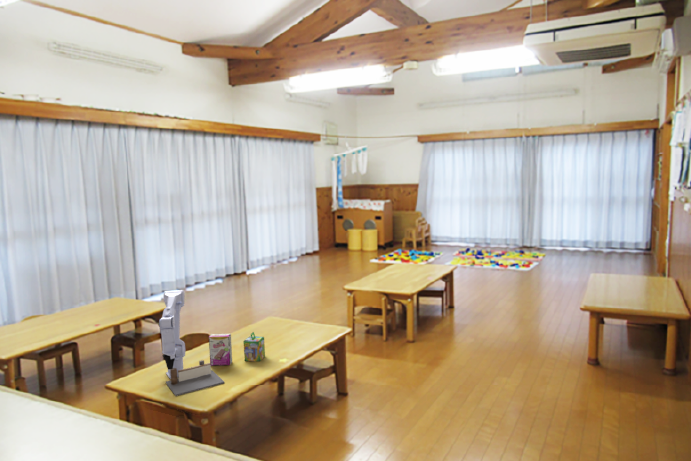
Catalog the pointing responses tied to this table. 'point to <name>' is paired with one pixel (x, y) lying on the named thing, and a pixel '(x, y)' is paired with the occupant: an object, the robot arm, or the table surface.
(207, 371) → the gate
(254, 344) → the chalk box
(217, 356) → the candy bar box
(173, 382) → the gate posts
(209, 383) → the mat
